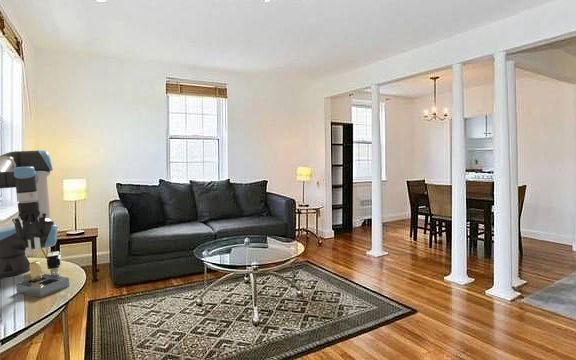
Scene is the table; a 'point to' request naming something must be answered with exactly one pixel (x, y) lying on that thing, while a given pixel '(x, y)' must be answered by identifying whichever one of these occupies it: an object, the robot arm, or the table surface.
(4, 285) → the table surface
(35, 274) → the tan rectangular block
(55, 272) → the pneumatic valve
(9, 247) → the robot arm
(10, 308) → the table surface
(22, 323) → the table surface
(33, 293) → the jig
